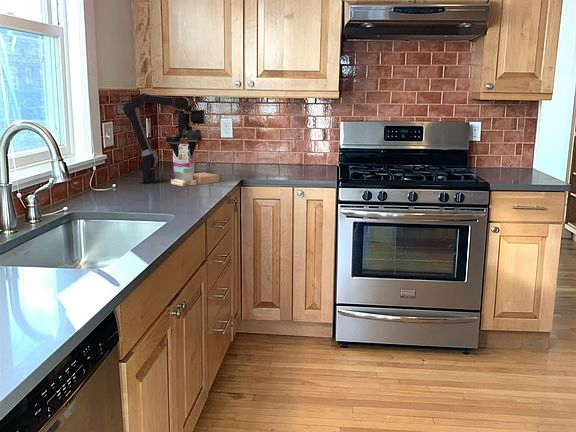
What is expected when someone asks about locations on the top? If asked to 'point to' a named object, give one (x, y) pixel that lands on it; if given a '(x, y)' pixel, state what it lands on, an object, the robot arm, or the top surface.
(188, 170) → the housing cover
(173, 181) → the birch board
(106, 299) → the top surface
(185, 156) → the candy bar box
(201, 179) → the terracotta riser
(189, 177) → the housing base
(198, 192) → the top surface
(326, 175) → the top surface
